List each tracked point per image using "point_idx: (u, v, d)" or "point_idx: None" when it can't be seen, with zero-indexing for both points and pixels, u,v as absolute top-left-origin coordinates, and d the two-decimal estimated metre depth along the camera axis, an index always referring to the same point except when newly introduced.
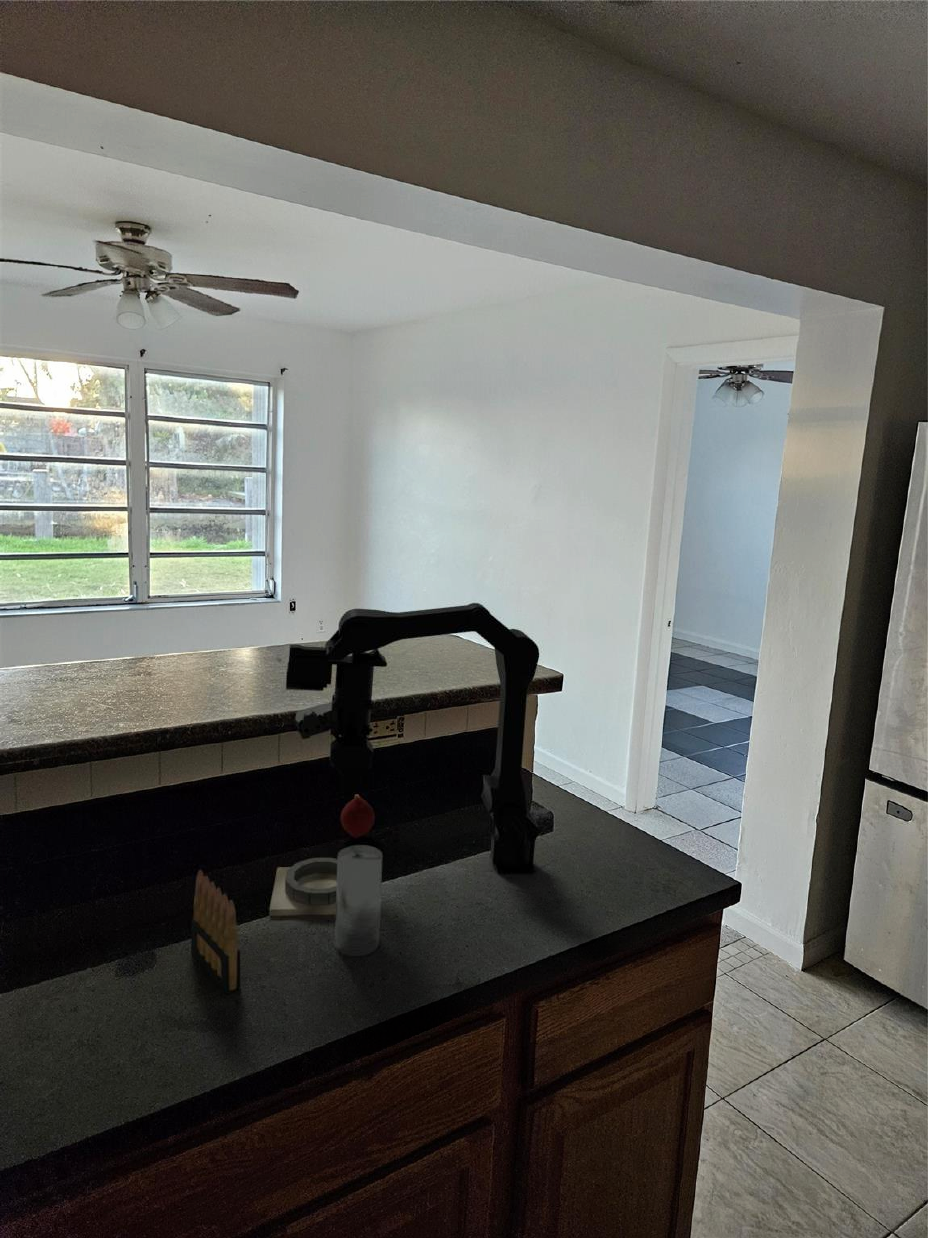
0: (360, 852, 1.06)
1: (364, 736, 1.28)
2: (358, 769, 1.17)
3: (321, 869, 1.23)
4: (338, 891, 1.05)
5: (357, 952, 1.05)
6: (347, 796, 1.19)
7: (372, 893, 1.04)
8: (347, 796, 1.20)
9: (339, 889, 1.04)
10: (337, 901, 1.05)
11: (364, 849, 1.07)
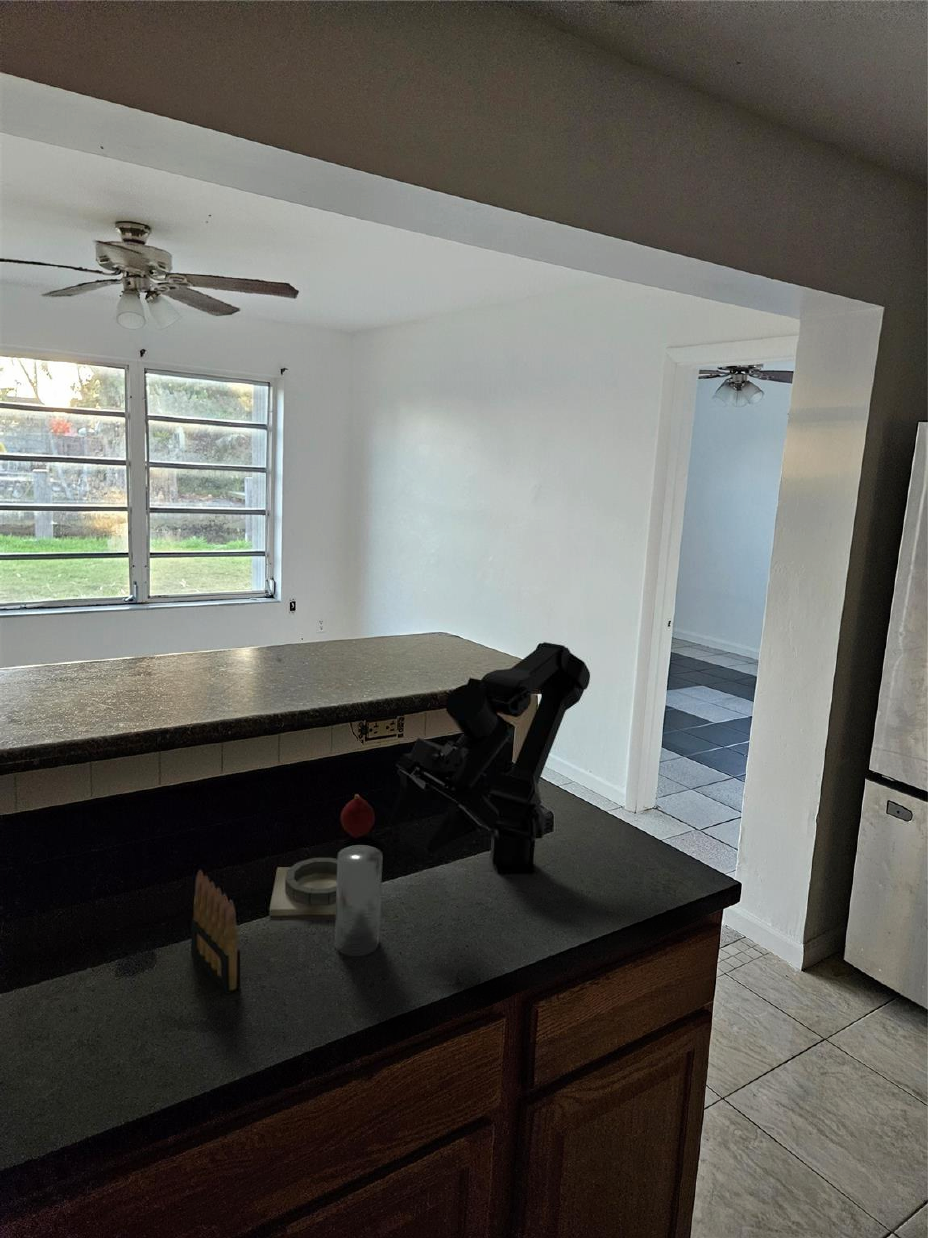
0: (360, 852, 1.06)
1: (426, 797, 1.17)
2: (463, 828, 1.08)
3: (321, 869, 1.23)
4: (338, 891, 1.05)
5: (357, 952, 1.05)
6: (431, 849, 1.06)
7: (372, 893, 1.04)
8: (430, 849, 1.07)
9: (339, 889, 1.04)
10: (337, 901, 1.05)
11: (364, 849, 1.07)
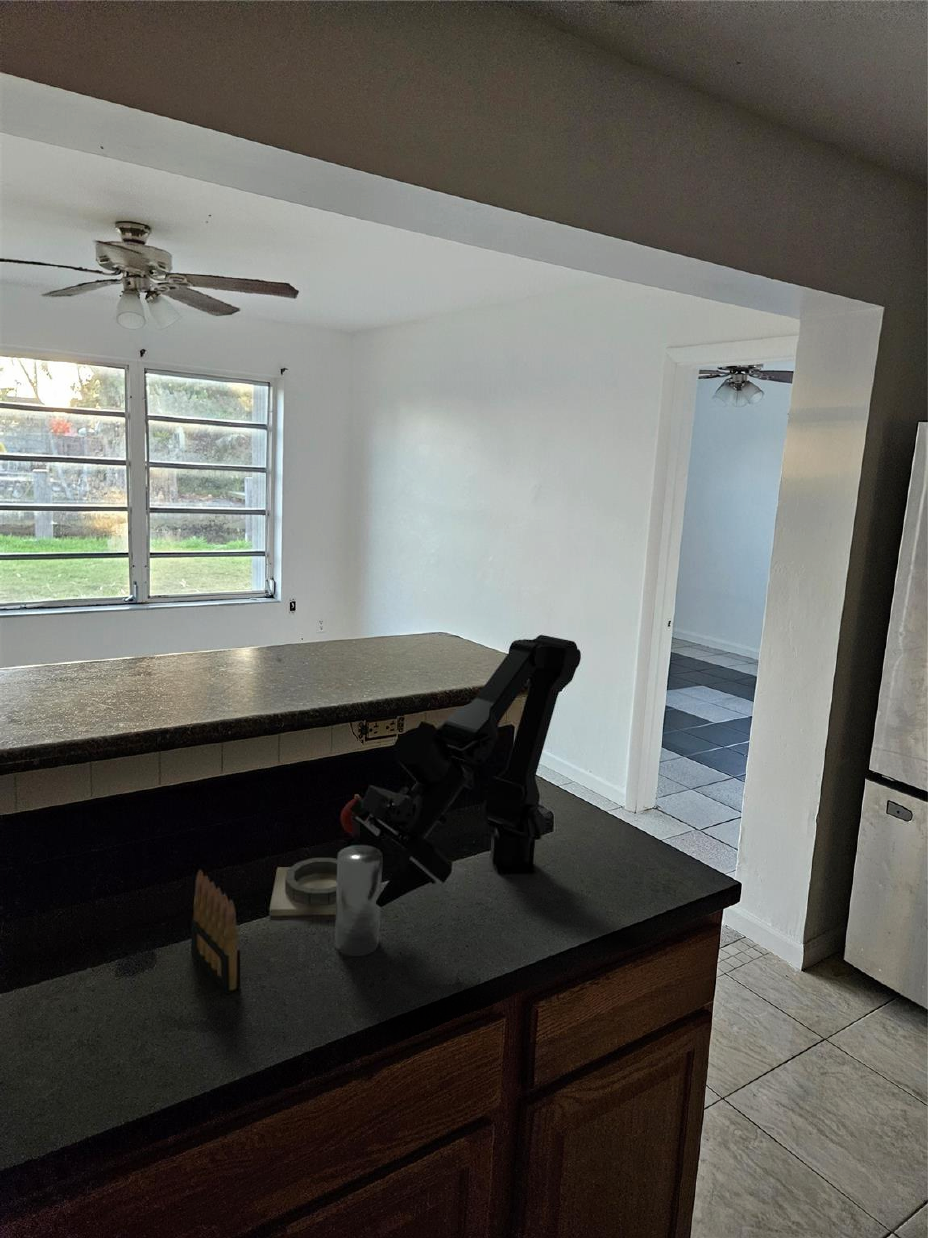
0: (360, 852, 1.06)
1: (380, 844, 1.14)
2: (416, 880, 1.04)
3: (321, 869, 1.23)
4: (338, 891, 1.05)
5: (357, 952, 1.05)
6: (381, 903, 1.03)
7: (372, 893, 1.04)
8: (380, 903, 1.03)
9: (339, 889, 1.04)
10: (337, 901, 1.05)
11: (364, 849, 1.07)
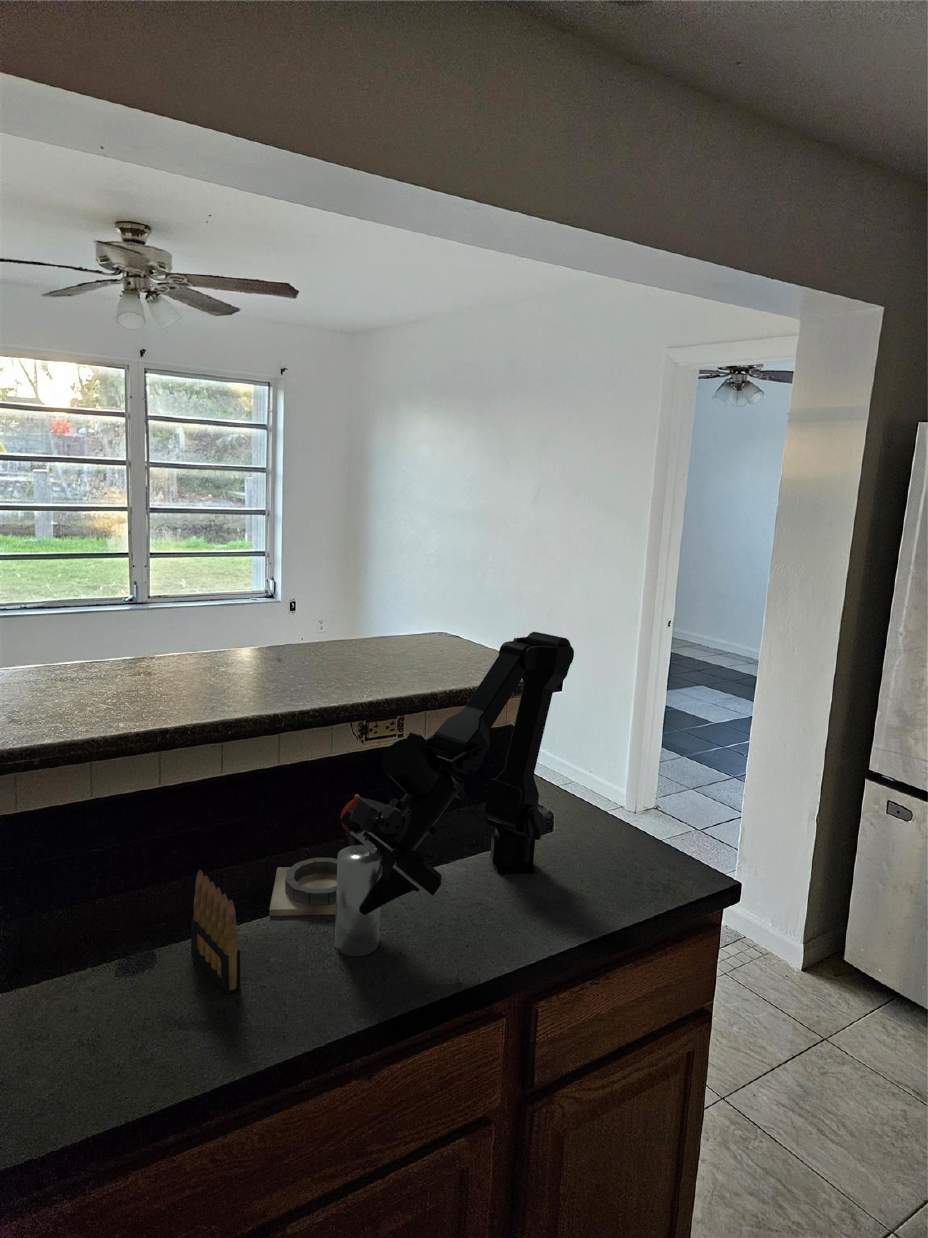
0: (360, 852, 1.06)
1: None
2: (399, 888, 1.04)
3: (321, 869, 1.23)
4: (338, 891, 1.05)
5: (357, 952, 1.05)
6: (364, 911, 1.03)
7: None
8: (364, 911, 1.03)
9: (339, 888, 1.04)
10: (337, 901, 1.05)
11: (364, 849, 1.07)
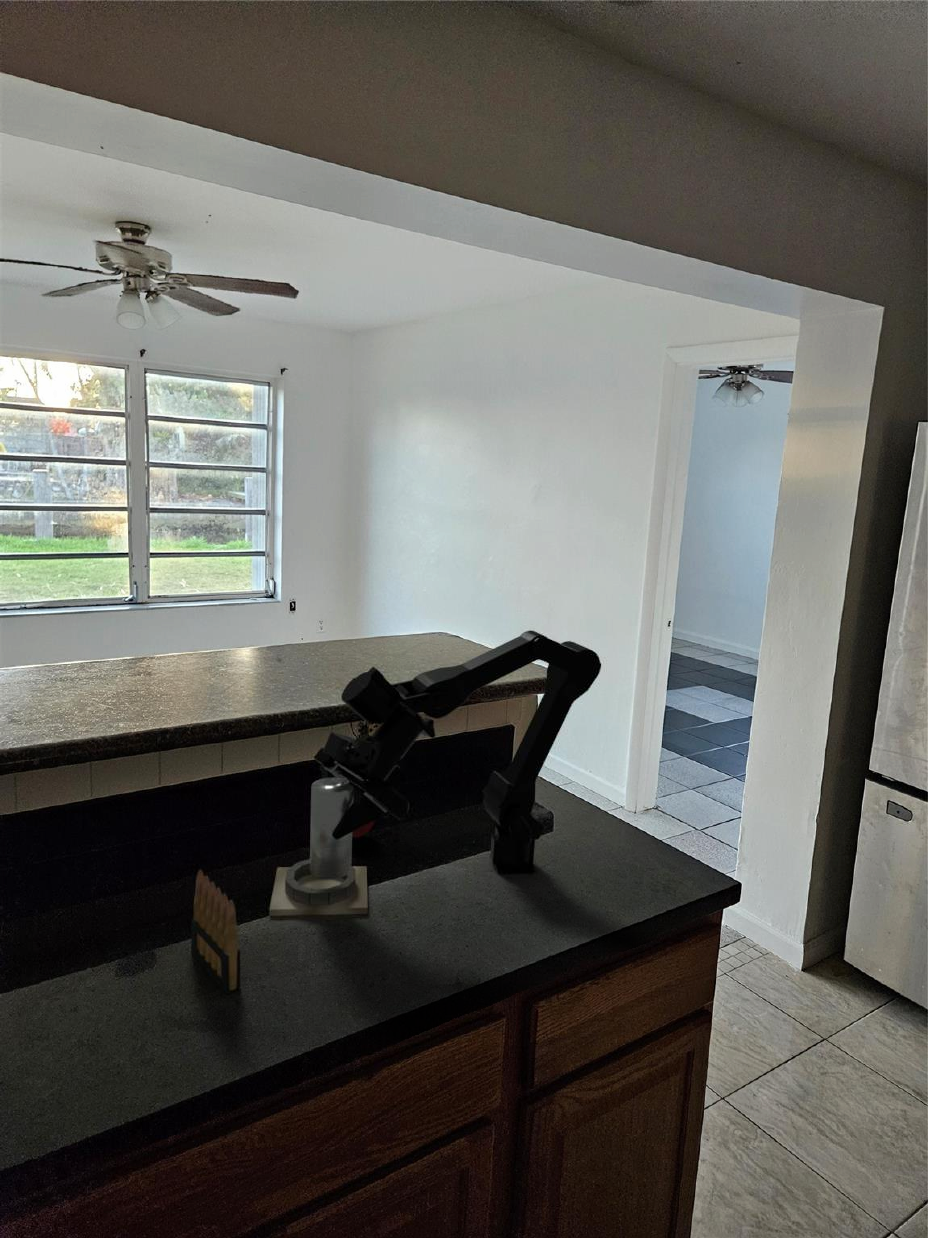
0: (333, 783, 1.14)
1: None
2: (369, 814, 1.12)
3: None
4: (312, 818, 1.12)
5: (330, 875, 1.12)
6: (337, 835, 1.11)
7: None
8: (337, 835, 1.11)
9: (313, 816, 1.12)
10: (311, 828, 1.13)
11: (336, 781, 1.15)
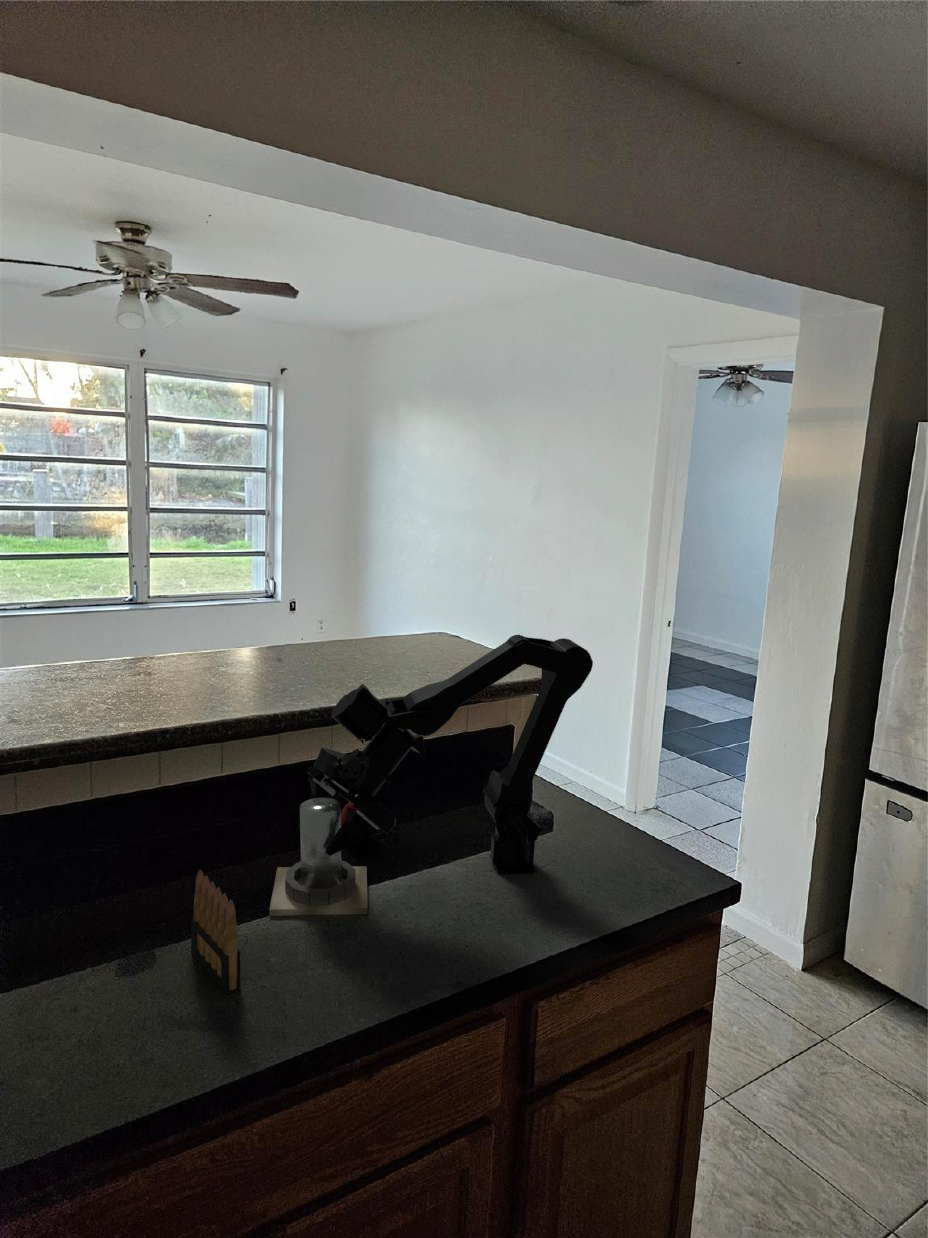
0: (321, 803, 1.18)
1: None
2: (362, 831, 1.15)
3: None
4: (301, 838, 1.16)
5: None
6: (330, 852, 1.14)
7: (332, 838, 1.16)
8: (330, 851, 1.14)
9: (302, 836, 1.16)
10: (301, 847, 1.17)
11: (324, 801, 1.19)
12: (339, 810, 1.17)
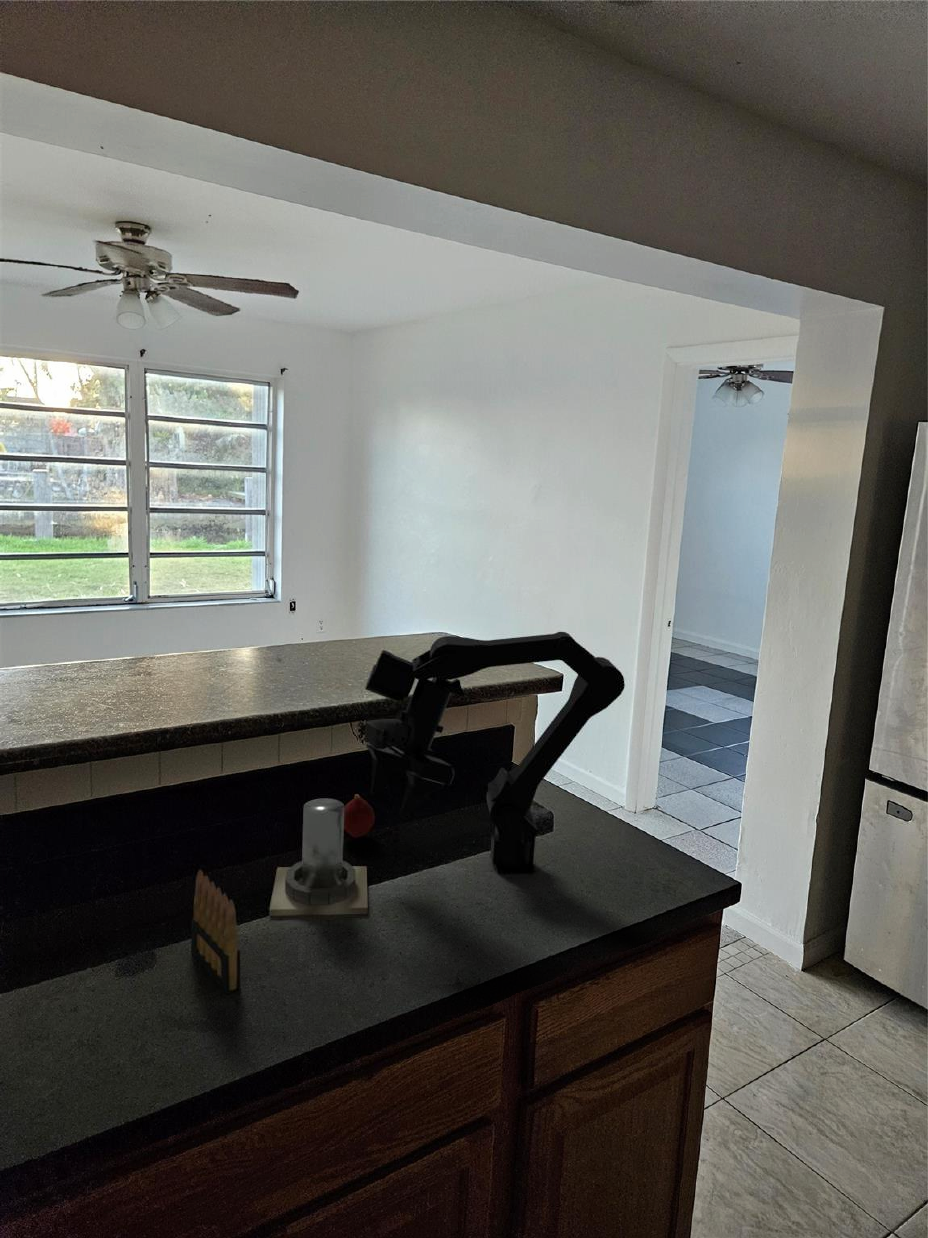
0: (324, 804, 1.18)
1: (398, 759, 1.30)
2: (427, 787, 1.20)
3: None
4: (304, 838, 1.16)
5: None
6: (404, 813, 1.20)
7: (334, 839, 1.16)
8: (404, 813, 1.20)
9: (305, 836, 1.16)
10: (303, 847, 1.17)
11: (328, 802, 1.19)
12: (343, 812, 1.17)
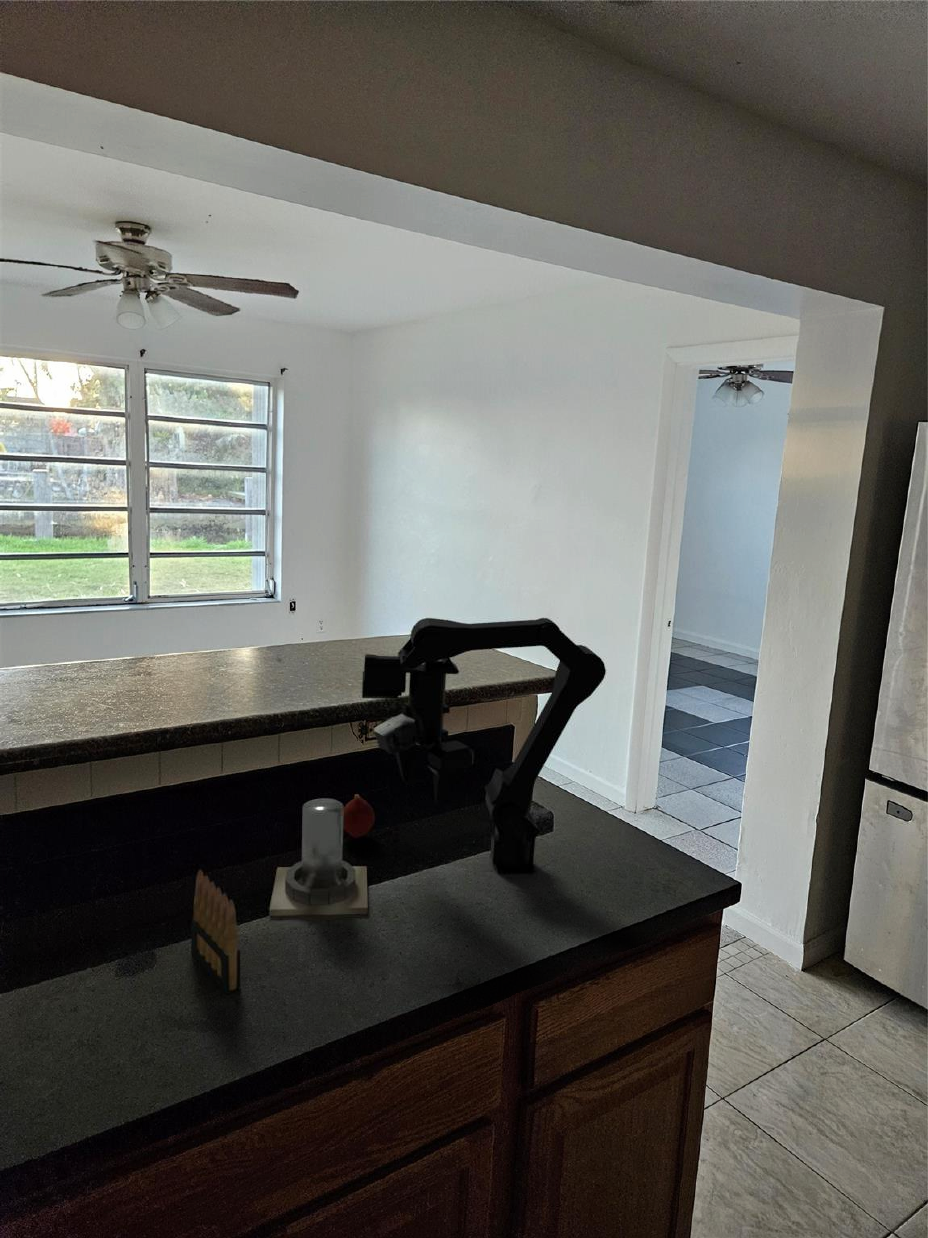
0: (323, 804, 1.18)
1: None
2: (452, 771, 1.22)
3: None
4: (303, 838, 1.16)
5: None
6: (439, 799, 1.23)
7: (333, 839, 1.16)
8: (439, 799, 1.23)
9: (304, 836, 1.16)
10: (302, 848, 1.17)
11: (327, 802, 1.19)
12: (342, 812, 1.17)
